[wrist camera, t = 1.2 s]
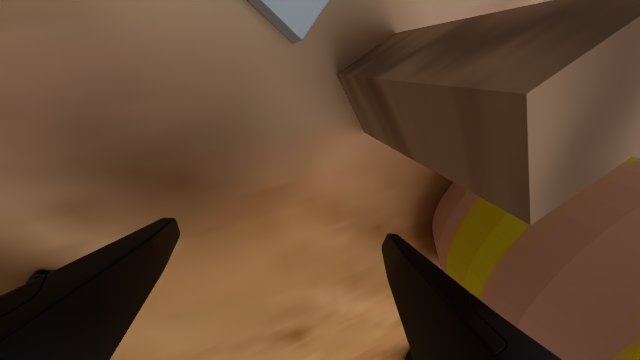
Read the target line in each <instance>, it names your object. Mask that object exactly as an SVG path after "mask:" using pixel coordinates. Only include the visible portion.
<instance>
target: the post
mask: <svg viewBox="0 0 640 360" xmlns="http://www.w3.org/2000/svg"><path fill="white" fill-rule="evenodd" d="M337 76H338V78H339V80H340V82H341V84H342V86H343V89H344V91H345V93H346V95H347V97H348V99H349V101H350V103H351V105H352V107H353V109H354V111H355V113H356V115H357V117H358V120H359V122H360V124H361V126H362V128H363V130H364V132H365V133H366V134H368V135H370V136H372V137H374V138H375V139H377V140H379V141H381V142H383V143H384V144H386V145H388V146H390V147H391V148H393V149H395V150H397V151H399V152H400V153H402V154H404V155H406V156H408V157H409V158H411V159H413V160H415V161H416V162H418V163H420V164H422V165H424V166H425V167H427V168H429V169H431V170H433V171H434V172H436V173H438V174H440V175H441V176H443V177H445V178H447V179H449V180H450V181H452V182H454V183H456V184H458V185H459V186H461V187H463V188H465V189H466V190H468V191H470V192H472V193H474V194H475V195H477V196H479V197H481V198H483V199H484V200H486V201H488V202H490V203H492V204H493V205H495V206H497V207H499V208H500V209H502V210H504V211H506V212H508V213H509V214H511V215H513V216H515V217H517V218H518V219H520V220H522V221H524V222H525V223H527V224H529V225H532V224H533V223H535V222H536V221H538V220H539V219H541V218H542V217H544V216H545V215H547V214H548V213H550V212H551V211H553V210H554V209H556V208H557V207H558V206H560V205H561V204H563V203H564V202H566V201H567V200H569V199H570V198H572V197H573V196H575V195H576V194H578V193H579V192H581V191H582V190H584V189H585V188H586V187H588V186H589V185H591V184H592V183H594V182H595V181H597V180H598V179H600V178H601V177H603V176H604V175H606V174H607V173H609V172H610V171H612V170H613V169H614V168H616V167H617V166H619V165H620V164H622V163H623V162H625V161H626V160H628V159H629V158H631V157H632V156H634V155H635V154H636V153H638V152H640V0H552V1H547V2H542V3H538V4H533V5H528V6H523V7H518V8H514V9H509V10H504V11H499V12H494V13H490V14H485V15H480V16H475V17H471V18H466V19H461V20H456V21H451V22H447V23H442V24H437V25H432V26H427V27H423V28H418V29H413V30H408V31H404V32H399V33H396V34H394V35H393V36H391V37H390V38H388V39H387V40H385V41H384V42H383V43H381V44H380V45H378V46H377V47H375V48H374V49H373V50H371V51H370V52H368V53H367V54H365V55H364V56H362V57H361V58H360V59H358V60H357V61H355V62H354V63H352V64H351V65H350V66H348V67H347V68H345V69H344V70H342V71H341V72H339V73H338V74H337Z"/></svg>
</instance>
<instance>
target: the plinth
mask: <svg viewBox="0 0 640 360" xmlns="http://www.w3.org/2000/svg"><path fill="white" fill-rule="evenodd" d="M248 1H249V2H250V3H251V4H252V5H253V6H254V7H255V8H256V9H257V10H258V11H259V12H260V13H261V14H262V15H263V16H265V17H266V18H267V19H268V20H269V21H270V22H271V23H272V24H273V25H274V26H275V27H276V28H277V29H278V30H279V31H280V32H282V33H283V34H284V35H285V36H286V37H287V38H288V39H289V40H290V41H291V42H292V43H293V44H294V43H297V42H299V41H301V40H303V38H304V37H305V35H306V34H307V32H308V31H309V29H310V28H311V26H312V25H313V23H314V22H315V20H316V19H317V17H318V16H319V14H320V13H321V11H322V10H323V8H324V7H325V5H326V4H327V2H328V1H329V0H248Z"/></svg>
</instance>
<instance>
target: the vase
mask: <svg viewBox="0 0 640 360" xmlns="http://www.w3.org/2000/svg"><path fill="white" fill-rule="evenodd" d="M432 232H433V236H434V241H435V246H436V250H437V255H438V259H439V263H440V266H441V268H442V269H443V271H444V272H445V273H446V274H448V275H449V276H450V277H451V278H453V279H454V280H455V281H456V282H458V283H459V284H460V285H461V286H463V287H464V288H465V289H466V290H468V291H469V292H470V293H472V294H473V295H475V296H476V297H477V298H478V299H480V300H481V301H482V302H483V303H485V304H486V305H487V306H489V307H490V308H491V309H492V310H494V311H495V312H496V313H498V314H499V315H500V316H502V317H503V318H505V319H506V320H507V321H509V322H510V323H511V324H513V325H514V326H516V327H517V328H518V329H520V330H521V331H523V332H524V333H525V334H527V335H528V336H530V337H531V338H532V339H534V340H535V341H537V342H538V343H539V344H541V345H542V346H544V347H545V348H546V349H548V350H549V351H551V352H552V353H553V354H555V355H556V356H558V357H559V358H561V359H562V360H640V159H638V158H635V157H631V158H629V159H628V160H626V161H625V162H623V163H622V164H620V165H619V166H617V167H616V168H614V169H613V170H612V171H610V172H609V173H607V174H606V175H604V176H603V177H601V178H600V179H598V180H597V181H595V182H594V183H592V184H591V185H589V186H588V187H586V188H585V189H584V190H582V191H581V192H579V193H578V194H576V195H575V196H573V197H572V198H570V199H569V200H567V201H566V202H564V203H563V204H561V205H560V206H558V207H557V208H556V209H554V210H553V211H551V212H550V213H548V214H547V215H545V216H544V217H542V218H541V219H539V220H538V221H536V222H535V223H533V224H532V225H529V224H527V223H525V222H524V221H522V220H520V219H518V218H517V217H515V216H513V215H511V214H509V213H508V212H506V211H504V210H502V209H500V208H499V207H497V206H495V205H493V204H492V203H490V202H488V201H486V200H484V199H483V198H481V197H479V196H477V195H475V194H474V193H472V192H470V191H468V190H466V189H465V188H463V187H461V186H459V185H458V184H456V183H454V182H453V183H452V184H451V185H450V186H449V188H448V189H447V190H446V192H445V193H444V194H443V196H442V198H441V200H440V201H439V203H438V205H437V208H436V210H435V213H434V217H433V222H432Z"/></svg>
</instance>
